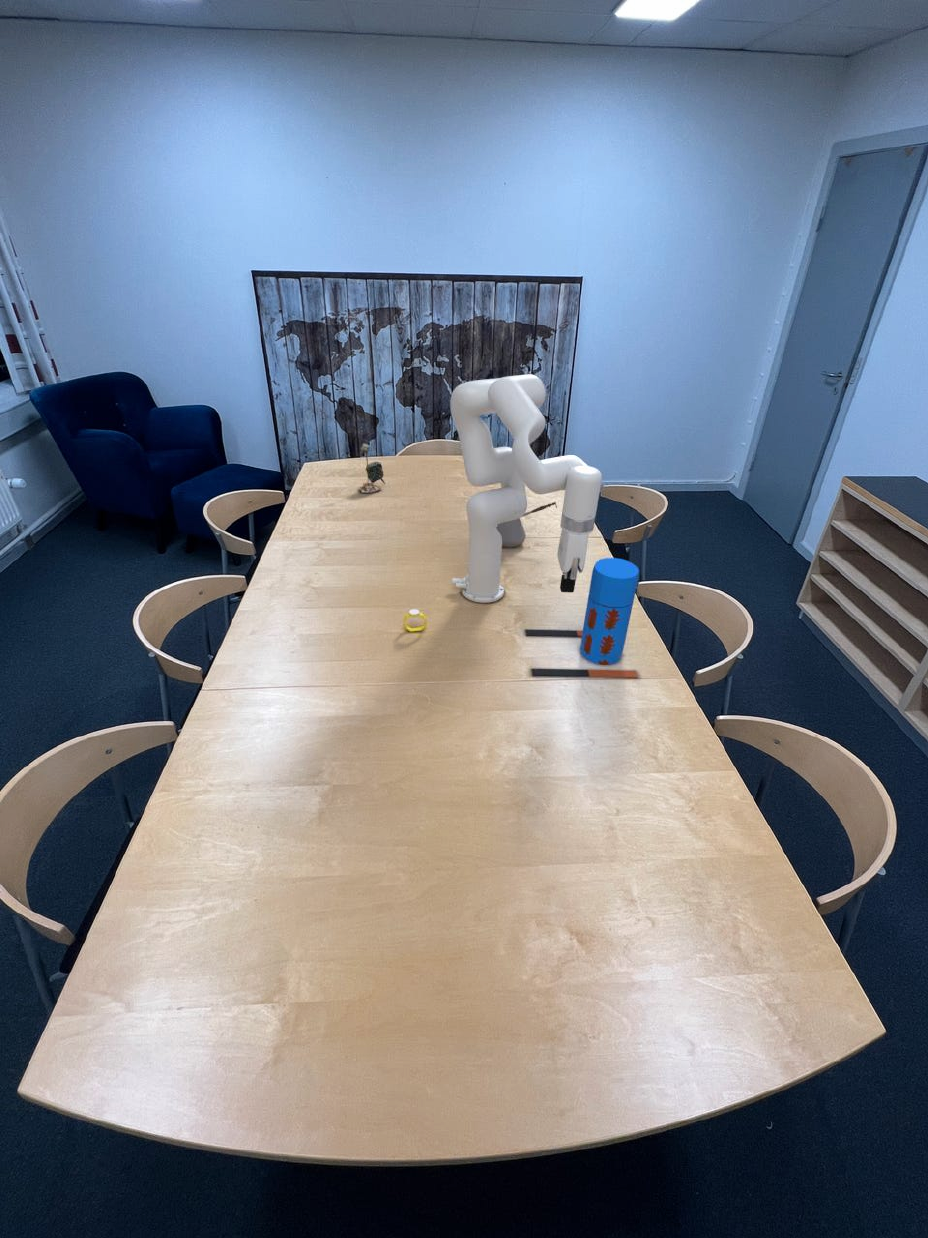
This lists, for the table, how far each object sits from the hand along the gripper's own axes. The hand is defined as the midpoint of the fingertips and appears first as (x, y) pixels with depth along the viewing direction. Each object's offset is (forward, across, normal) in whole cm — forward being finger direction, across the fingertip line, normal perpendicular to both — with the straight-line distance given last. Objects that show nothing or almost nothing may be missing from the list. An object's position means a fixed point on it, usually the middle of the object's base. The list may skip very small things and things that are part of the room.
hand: (566, 590), depth 149 cm
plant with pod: (+22, -110, -62) cm, 128 cm away
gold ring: (+19, -8, -38) cm, 43 cm away
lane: (+18, +1, +6) cm, 19 cm away
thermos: (+18, 0, +11) cm, 22 cm away
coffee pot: (+20, -64, -4) cm, 67 cm away
